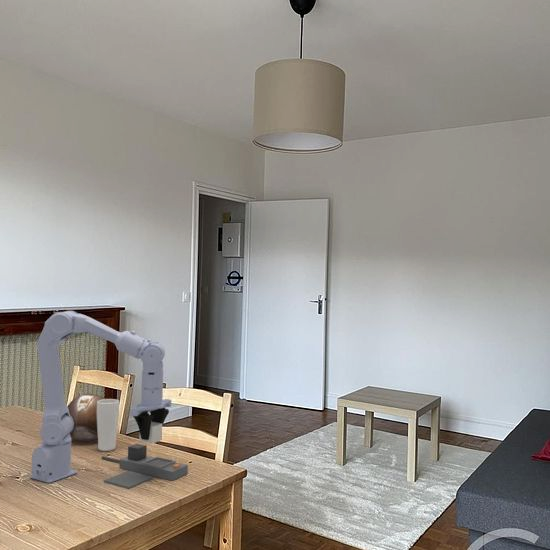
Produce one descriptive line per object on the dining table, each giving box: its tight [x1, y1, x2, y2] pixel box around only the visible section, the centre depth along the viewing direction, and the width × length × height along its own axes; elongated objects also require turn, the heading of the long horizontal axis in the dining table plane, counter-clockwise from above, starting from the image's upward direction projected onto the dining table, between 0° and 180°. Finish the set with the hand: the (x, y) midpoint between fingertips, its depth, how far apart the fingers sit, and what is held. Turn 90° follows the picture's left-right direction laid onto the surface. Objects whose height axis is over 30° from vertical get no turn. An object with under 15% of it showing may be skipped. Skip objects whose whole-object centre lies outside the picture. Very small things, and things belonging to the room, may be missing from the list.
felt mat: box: [103, 470, 154, 490], centre depth 147 cm, size 9×9×1 cm
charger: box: [138, 422, 163, 444], centre depth 152 cm, size 4×4×4 cm
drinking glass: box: [97, 398, 120, 452], centre depth 174 cm, size 7×7×15 cm
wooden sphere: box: [67, 393, 105, 442], centre depth 183 cm, size 15×15×15 cm
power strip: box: [101, 443, 189, 482], centre depth 157 cm, size 6×29×6 cm, turn 61°
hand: (150, 437), depth 152 cm, fingers closed on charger, 4 cm apart
